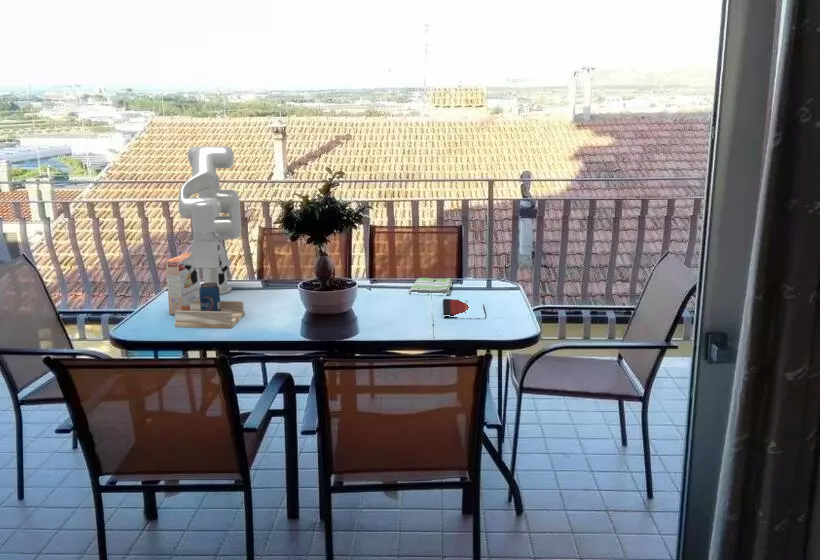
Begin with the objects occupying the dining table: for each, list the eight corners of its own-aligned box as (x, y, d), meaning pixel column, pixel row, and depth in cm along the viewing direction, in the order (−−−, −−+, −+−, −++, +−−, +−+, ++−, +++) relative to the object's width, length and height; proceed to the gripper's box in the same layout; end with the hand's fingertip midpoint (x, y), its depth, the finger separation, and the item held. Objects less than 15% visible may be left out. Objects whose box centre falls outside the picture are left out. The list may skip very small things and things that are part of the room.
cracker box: (183, 316, 241) (179, 261, 236) (169, 315, 242) (164, 260, 237) (202, 305, 254) (198, 253, 249) (188, 304, 256) (184, 252, 250)
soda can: (197, 318, 233) (195, 286, 230) (206, 313, 240) (204, 281, 237) (215, 319, 232) (213, 287, 229) (224, 314, 239) (222, 282, 236)
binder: (443, 313, 239) (442, 298, 260) (442, 319, 240) (442, 303, 260) (486, 316, 239) (483, 300, 259) (486, 322, 239) (482, 306, 260)
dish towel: (407, 295, 271) (407, 287, 270) (415, 281, 293) (415, 274, 292) (448, 297, 269) (448, 289, 268) (453, 283, 291) (453, 275, 290)
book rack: (192, 313, 244) (191, 299, 243) (244, 314, 243) (243, 300, 242) (175, 327, 229) (173, 312, 227) (230, 328, 228) (229, 313, 226)
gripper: (232, 234, 231) (235, 281, 236) (184, 233, 232) (188, 279, 237) (225, 239, 224) (228, 286, 229) (176, 238, 225) (180, 285, 230)
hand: (208, 283), depth 233 cm, fingers open, 9 cm apart
